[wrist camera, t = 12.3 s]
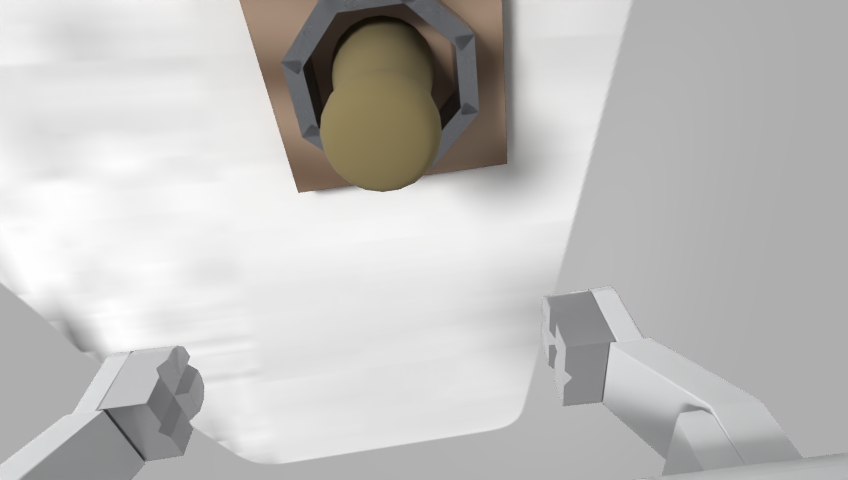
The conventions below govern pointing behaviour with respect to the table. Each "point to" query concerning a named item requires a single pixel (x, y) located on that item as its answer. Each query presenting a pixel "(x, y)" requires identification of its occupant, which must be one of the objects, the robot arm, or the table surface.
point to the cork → (381, 106)
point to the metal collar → (424, 3)
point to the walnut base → (484, 137)
